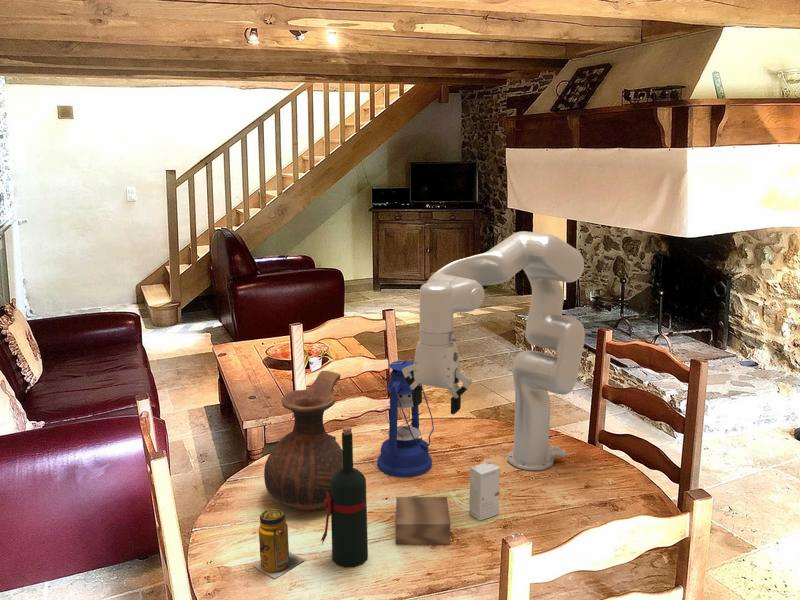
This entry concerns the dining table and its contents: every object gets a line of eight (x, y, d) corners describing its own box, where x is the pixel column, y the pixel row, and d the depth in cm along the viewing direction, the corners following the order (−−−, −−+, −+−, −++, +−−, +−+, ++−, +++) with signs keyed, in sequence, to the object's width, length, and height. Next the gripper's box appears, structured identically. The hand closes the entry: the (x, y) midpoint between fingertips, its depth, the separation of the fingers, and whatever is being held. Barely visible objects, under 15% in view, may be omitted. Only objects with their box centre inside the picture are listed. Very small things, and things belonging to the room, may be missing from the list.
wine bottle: (318, 551, 157) (314, 424, 150) (363, 544, 160) (361, 418, 153) (324, 572, 150) (320, 439, 143) (372, 564, 152) (369, 433, 145)
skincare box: (479, 521, 168) (481, 474, 166) (468, 513, 172) (468, 467, 169) (499, 514, 172) (501, 467, 169) (487, 506, 175) (488, 460, 173)
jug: (364, 509, 174) (362, 393, 167) (277, 528, 166) (271, 407, 159) (337, 471, 194) (334, 365, 187) (257, 486, 186) (251, 377, 179)
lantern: (393, 447, 208) (392, 348, 201) (441, 456, 202) (442, 355, 195) (365, 472, 193) (363, 367, 186) (417, 483, 187) (417, 374, 180)
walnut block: (446, 515, 171) (446, 496, 170) (449, 544, 159) (450, 524, 158) (396, 516, 171) (396, 497, 170) (396, 544, 159) (395, 524, 158)
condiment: (252, 566, 152) (249, 515, 149) (282, 548, 158) (280, 499, 155) (274, 579, 147) (271, 527, 145) (305, 561, 154) (303, 510, 151)
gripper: (478, 338, 160) (477, 409, 164) (410, 328, 168) (410, 396, 172) (464, 347, 154) (463, 421, 158) (394, 336, 162) (395, 407, 166)
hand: (436, 408), depth 165 cm, fingers open, 9 cm apart
